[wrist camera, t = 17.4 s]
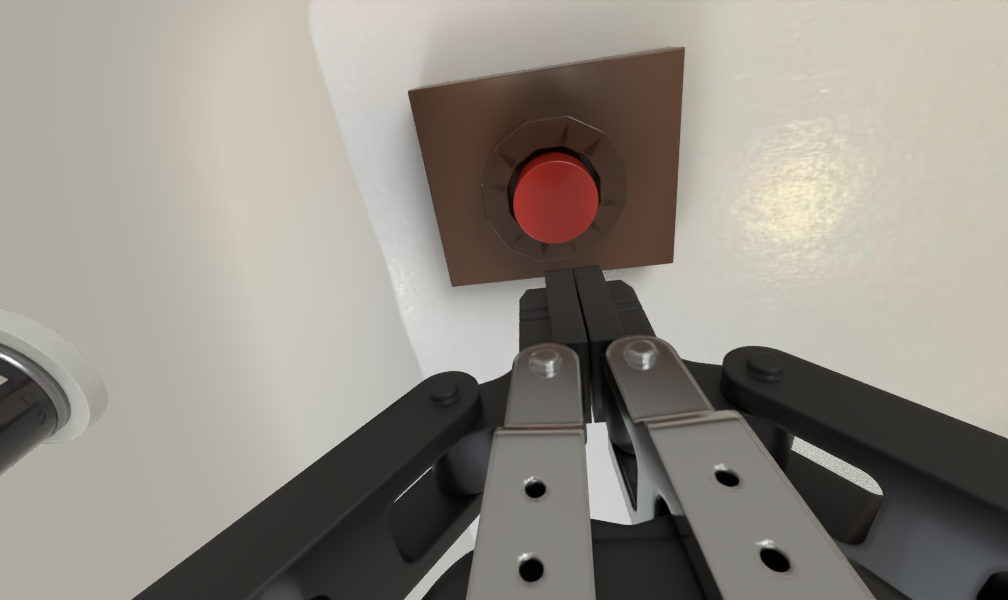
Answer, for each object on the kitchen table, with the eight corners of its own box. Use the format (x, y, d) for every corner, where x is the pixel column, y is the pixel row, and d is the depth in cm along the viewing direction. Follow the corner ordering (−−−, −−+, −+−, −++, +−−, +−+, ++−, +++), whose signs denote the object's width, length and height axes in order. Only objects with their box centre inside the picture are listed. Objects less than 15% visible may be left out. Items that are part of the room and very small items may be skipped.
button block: (457, 270, 26) (446, 303, 23) (417, 87, 21) (396, 94, 18) (662, 247, 25) (684, 279, 21) (670, 46, 20) (700, 46, 16)
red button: (519, 234, 21) (518, 248, 19) (509, 158, 19) (507, 167, 18) (594, 225, 21) (600, 239, 19) (591, 146, 19) (596, 155, 17)
